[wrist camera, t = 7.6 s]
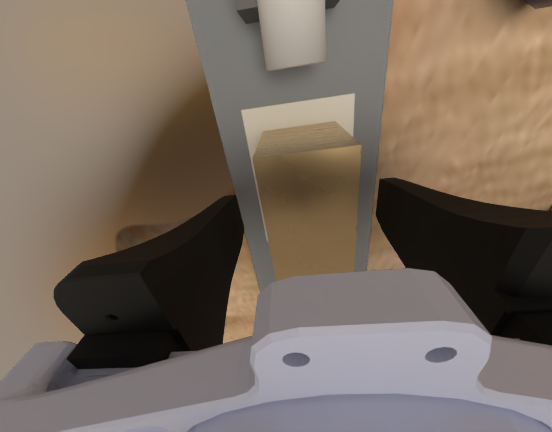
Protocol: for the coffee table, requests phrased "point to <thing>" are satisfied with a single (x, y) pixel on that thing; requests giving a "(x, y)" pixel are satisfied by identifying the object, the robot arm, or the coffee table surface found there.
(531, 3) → the grey long handheld tool
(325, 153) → the block
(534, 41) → the coffee table surface
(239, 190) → the coupling bed
